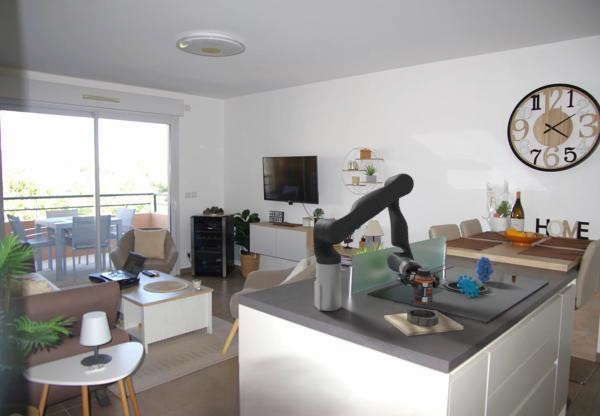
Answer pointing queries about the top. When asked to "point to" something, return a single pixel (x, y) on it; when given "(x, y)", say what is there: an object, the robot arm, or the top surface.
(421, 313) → the metal collar
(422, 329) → the birch board
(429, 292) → the supplement bottle
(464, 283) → the gear
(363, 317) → the top surface
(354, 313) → the top surface
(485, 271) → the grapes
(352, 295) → the top surface
